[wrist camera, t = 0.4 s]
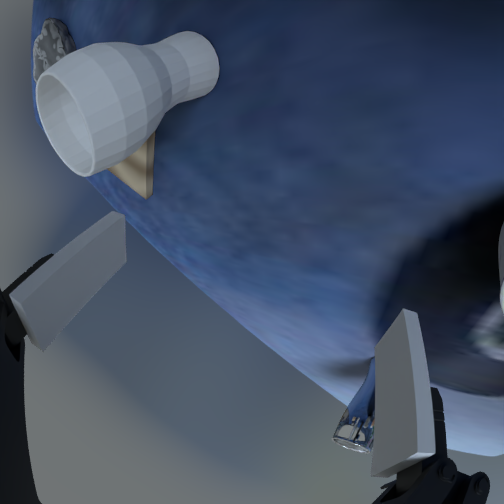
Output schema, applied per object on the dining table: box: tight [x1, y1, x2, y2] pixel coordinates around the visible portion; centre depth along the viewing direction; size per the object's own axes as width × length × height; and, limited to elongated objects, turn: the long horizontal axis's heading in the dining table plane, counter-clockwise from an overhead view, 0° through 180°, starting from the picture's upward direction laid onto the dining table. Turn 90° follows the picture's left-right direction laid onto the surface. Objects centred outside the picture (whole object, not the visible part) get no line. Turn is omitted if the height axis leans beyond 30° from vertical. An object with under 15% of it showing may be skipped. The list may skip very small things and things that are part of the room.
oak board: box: [107, 131, 155, 199], centre depth 41 cm, size 14×12×2 cm
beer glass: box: [332, 357, 375, 453], centre depth 39 cm, size 7×7×15 cm
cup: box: [36, 31, 219, 177], centre depth 21 cm, size 11×11×15 cm
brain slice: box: [33, 18, 76, 85], centre depth 34 cm, size 20×17×3 cm
